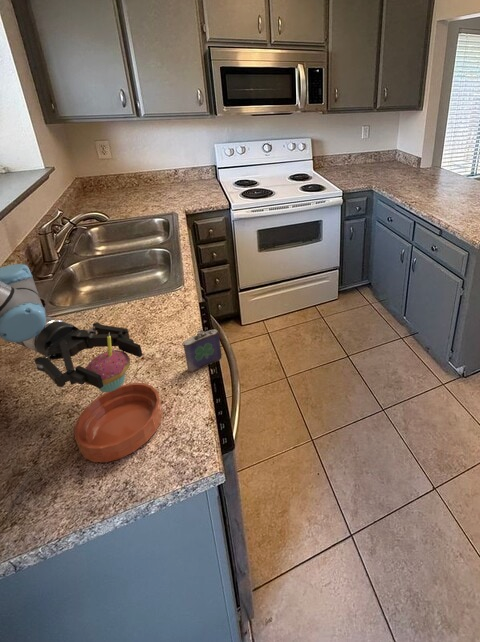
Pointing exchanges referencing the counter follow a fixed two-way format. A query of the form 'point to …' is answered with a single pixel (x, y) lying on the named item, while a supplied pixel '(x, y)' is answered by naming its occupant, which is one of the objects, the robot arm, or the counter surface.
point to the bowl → (118, 422)
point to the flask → (202, 349)
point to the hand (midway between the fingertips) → (121, 365)
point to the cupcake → (110, 367)
